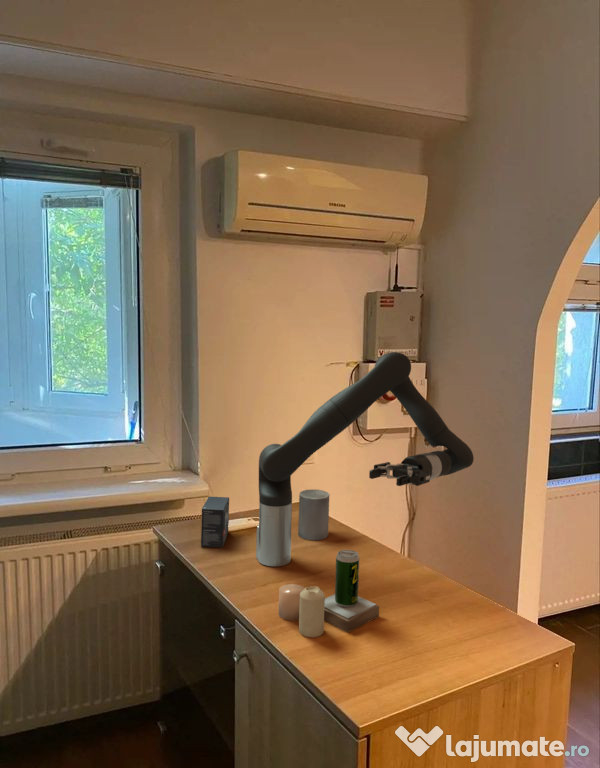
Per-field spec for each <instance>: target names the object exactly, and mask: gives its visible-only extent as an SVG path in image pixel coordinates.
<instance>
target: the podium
mask: <svg viewBox="0 0 600 768" xmlns="http://www.w3.org/2000/svg"><path fill="white" fill-rule="evenodd" d="M378 617H380V605H378V604H376V603H374V602H372V601H370V600H368V599H366V598H363V597H361V596H359V595H358V602H357V604H356V606H354V607H351V608H344V607H340V606H338V605H337V604H336V601H335V593H334V594H331V595H330V596H328V597H325V606H324V622H327V623H328V624H330V625H332V626H334V627H336V628H338V629H340V630H341V631H344V632H346V633H349V632H352V631H353V630H356V629H357V628H359V627H361V626H364V625H365V624H367V623H369V622H370V621H374V620H375V619H377V618H378Z"/></svg>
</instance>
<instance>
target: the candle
mask: <svg viewBox="0 0 600 768" xmlns="http://www.w3.org/2000/svg"><path fill="white" fill-rule="evenodd" d="M325 596H326V595H325V592H323V591H322V590H321V589H320V587H319V586H315V585H311V586H306V587H304V590H303V591H302V592H301V593H300V609H299V620H298V631H299V632H298V633H299V634H300V635H301V636H304V637H306V638H318V637H320V636H322V635H323V634H324V631H325V621H324V606H325V598H326V597H325Z"/></svg>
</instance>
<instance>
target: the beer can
mask: <svg viewBox="0 0 600 768" xmlns="http://www.w3.org/2000/svg"><path fill="white" fill-rule="evenodd" d="M359 575H360V556H359V552H357V551H355V550H353V549H352V550H351V549H341V550H339V551H338V552H337V554H336V556H335V580H334V581H335V586H334V588H335V590H334V594H335V601H336V604H337V605H338V606H340V607H344V608H351V607H354V606H356V604H357V602H358V596H359V580H360V578H359V577H360V576H359Z"/></svg>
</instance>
